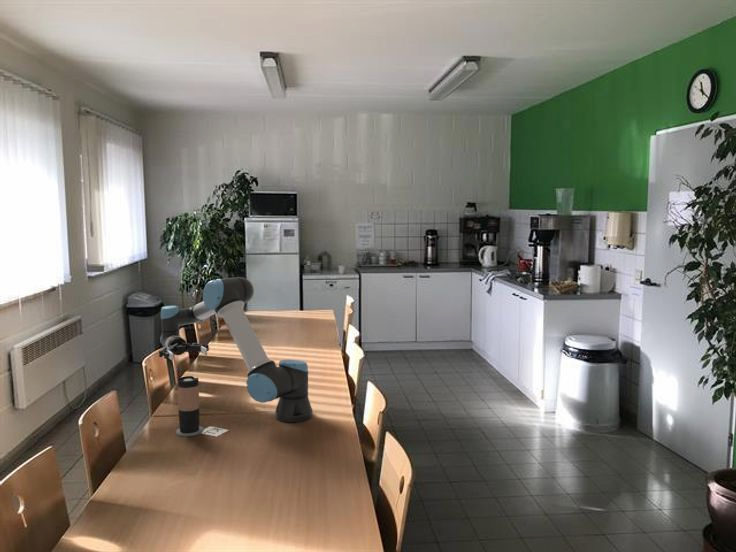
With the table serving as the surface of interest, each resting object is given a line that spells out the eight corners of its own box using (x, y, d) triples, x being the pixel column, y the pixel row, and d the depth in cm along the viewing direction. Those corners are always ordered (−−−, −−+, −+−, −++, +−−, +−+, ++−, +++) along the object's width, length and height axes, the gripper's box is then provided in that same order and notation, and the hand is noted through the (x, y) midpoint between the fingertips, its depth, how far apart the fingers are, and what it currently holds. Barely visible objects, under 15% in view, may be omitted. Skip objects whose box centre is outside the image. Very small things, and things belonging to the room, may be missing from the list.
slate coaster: (209, 429, 227) (209, 427, 226) (190, 438, 218) (190, 436, 218) (189, 425, 231) (189, 423, 231) (170, 433, 222) (170, 432, 222)
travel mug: (178, 434, 220) (176, 382, 217) (179, 427, 227) (177, 376, 225) (199, 432, 222) (198, 380, 219) (200, 425, 229) (198, 375, 227)
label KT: (228, 430, 225) (228, 430, 225) (216, 436, 219) (216, 436, 219) (210, 426, 229) (210, 426, 229) (197, 432, 223) (197, 432, 223)
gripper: (205, 349, 262) (220, 359, 244) (146, 357, 249) (157, 368, 231) (204, 333, 262) (219, 341, 244) (145, 340, 249) (156, 349, 231)
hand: (189, 354), depth 238 cm, fingers open, 13 cm apart
